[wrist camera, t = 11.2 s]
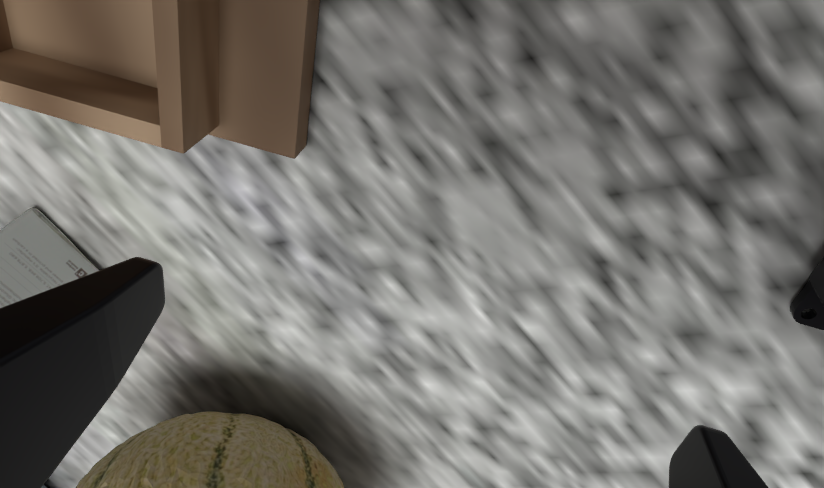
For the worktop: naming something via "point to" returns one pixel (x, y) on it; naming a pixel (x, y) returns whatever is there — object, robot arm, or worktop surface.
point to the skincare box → (36, 258)
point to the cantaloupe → (214, 456)
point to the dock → (165, 67)
